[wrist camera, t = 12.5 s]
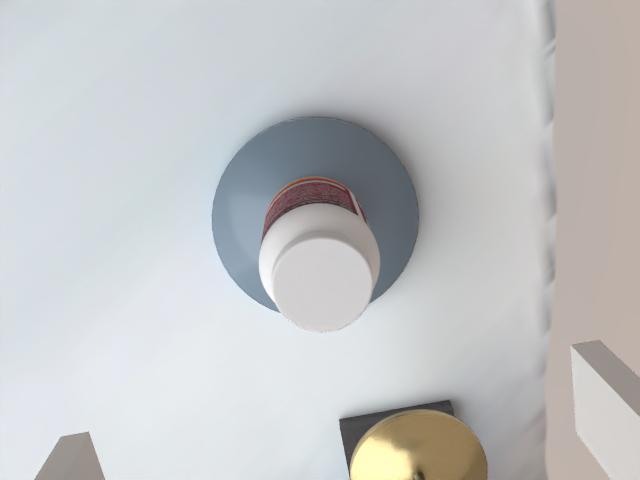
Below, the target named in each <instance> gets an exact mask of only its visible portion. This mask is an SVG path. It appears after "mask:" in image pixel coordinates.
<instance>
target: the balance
mask: <svg viewBox="0 0 640 480" xmlns="http://www.w3.org/2000/svg"><path fill="white" fill-rule="evenodd" d="M339 422H340V430H341V435H342V441H343V446H344V451H345V456H346V461H347V466H348V471H349V476H350V480H487V473H488V469H487V460H486V456H485V453H484V450H483V448H482V446H481V444H480V442H479V440H478V438H477V437H476V435H475V434H474V432H473V431H472V430H471V429H470V428H469V427H468V426H467V425H466V424H465V423H463V422H462V421H461V420H459V419H457V418H456V417H454V413H453V408H452V406H451V404H450V401H449V400H447V401H441V402H435V403H430V404H424V405H418V406H413V407H407V408H402V409H396V410H390V411H385V412H379V413H374V414H368V415H362V416H357V417H351V418H345V419H340V420H339Z"/></svg>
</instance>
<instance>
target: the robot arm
mask: <svg viewBox="0 0 640 480" xmlns="http://www.w3.org/2000/svg"><path fill="white" fill-rule="evenodd" d="M571 360H572V376H573V392H574V407H575V424H576V433H577V434H578V436H579V437H580V438H581V440H582V441H583V443H584V444H585V445H586V447H587V448H588V449H589V451H590V452H591V453H592V455H593V456H594V457H595V459H596V460H597V461H598V462H599V464H600V465H601V467H602V468H603V469H604V471H605V472H606V473H607V475H608V476H609V477H610V479H611V480H640V377H638V376H637V375H636V374H635V373H634V372H633V371H632V370H631V369H630V368H629V367H628V366H627V365H626V364H624V363H623V362H622V361H621V360H620V359H619V358H618V357H617V356H616V355H615V354H614V353H613V352H612V351H610V350H609V349H608V348H607V347H606V346H605V345H604V344H603V343H602V342H601V341H600V340H595V341H590V342H584V343H579V344H573V345H571ZM34 480H105V478H104V475H103V472H102V469H101V466H100V463H99V460H98V458H97V455H96V452H95V449H94V446H93V443H92V440H91V437H90V434H89V432H85V433H79V434H74V435H68V436H63V437H61V438H60V439H59V441H58V442H57V444H56V446H55V447H54V449H53V450H52V452H51V454H50V455H49V457H48V458H47V460H46V462H45V463H44V465H43V467H42V468H41V470H40V471H39V473H38V475H37V476H36V478H35V479H34Z"/></svg>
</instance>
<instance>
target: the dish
mask: <svg viewBox="0 0 640 480" xmlns="http://www.w3.org/2000/svg"><path fill="white" fill-rule="evenodd" d="M311 176H318V177H325V178H329V179H332V180H334V181H337V182H339V183H341V184H343V185H344V186H345V187H347V188H348V189H349V190H350V191H351V192H352V193H353V195H354V196H355V197H356V198H357V200H358V201H359V203H360V205H361V207H362V210H363V212H364V214H365V216H366V219H367V221H368V223H369V226H370V228H371V230H372V232H373V234H374V236H375V239H376V242H377V245H378V248H379V253H380V271H379V276H378V279H377V282H376V285H375V287H374V289H373V292H372V296H371V299H370V301H369V303H371V302H372V301H374V300H375V299H377V298H378V297H380V296H381V295H382V294H383V293H384V292H385V291H386V290H387V289H389V288H390V287H391V285H392V284H393V283H394V282H395V281H396V280H397V279H398V277H399V276H400V274H401V273H402V271H403V270H404V268H405V267H406V265H407V263H408V261H409V259H410V257H411V254H412V251H413V248H414V245H415V242H416V237H417V232H418V219H419V216H418V204H417V199H416V194H415V190H414V187H413V185H412V182H411V179H410V177H409V175H408V173H407V171H406V169H405V167H404V166H403V165H402V163H401V162H400V160H399V159H398V158H397V156H396V155H395V154H394V153H393V152H392V151H391V150H390V149H389V148H388V147H387V146H386V145H385V144H384V143H383V142H382V141H381V140H379V139H378V138H377V137H376V136H374V135H373V134H371V133H370V132H368V131H366V130H365V129H363V128H361V127H359V126H356V125H354V124H352V123H349V122H346V121H342V120H339V119H333V118H327V117H305V118H296V119H293V120H289V121H285V122H282V123H279V124H277V125H274V126H272V127H270V128H268V129H266V130H264V131H263V132H261V133H259V134H258V135H256V136H255V137H254V138H252V139H251V140H250V141H248V142H247V143H246V144H245V145H244V146H243V147H242V148H241V149H240V150H239V151H238V153H237V154H236V155H235V157H234V158H233V159H232V161H231V162H230V163H229V165H228V166H227V168H226V170H225V172H224V173H223V175H222V177H221V179H220V182H219V185H218V187H217V190H216V194H215V198H214V202H213V210H212V230H213V236H214V242H215V245H216V248H217V251H218V255H219V257H220V259H221V261H222V263H223V265H224V267H225V269H226V270H227V272H228V273H229V275H230V276H231V278H232V279H233V280H234V281H235V283H236V284H237V285H238V286H239V287H240V288H241V289H242V290H243V291H244V292H245V293H246V294H247V295H249V296H250V297H251V298H253V299H254V300H256V301H257V302H258V303H260V304H262V305H264V306H266V307H267V308H269V309H271V310H274V311H277V312H279V313H281V312H280V311H279V309H278V307H277V306H276V304H275V302H274V301H273V300H272V299H271V298H270V296H269V295H268V294H267V292H266V290H265V288H264V286H263V284H262V281H261V277H260V273H259V253H260V247H261V241H262V235H263V229H264V224H265V218H266V213H267V210H268V208H269V205H270V203H271V201H272V200H273V198H274V197H275V195H276V194H277V193H278V192H279V191H280V190H281V189H282V188H283V187H285V186H286V185H287V184H289V183H291V182H293V181H295V180H297V179H301V178H304V177H311Z"/></svg>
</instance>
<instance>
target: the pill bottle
mask: <svg viewBox="0 0 640 480" xmlns="http://www.w3.org/2000/svg"><path fill="white" fill-rule="evenodd" d="M379 271H380V253H379V248H378V245H377V242H376V239H375V236H374V234H373V232H372V230H371V228H370V226H369V223H368V221H367V219H366V216H365V214H364V212H363V210H362V207H361V205H360V203H359V201H358V200H357V198H356V197H355V196H354V195H353V193H352V192H351V191H350V190H349V189H348V188H347V187H345V186H344V185H343V184H341V183H339V182H337V181H334V180H332V179H329V178H325V177H318V176H311V177H304V178H301V179H297V180H295V181H293V182H291V183H289V184H287V185H286V186H285V187H283V188H282V189H281V190H280V191H279V192H278V193H277V194H276V195H275V197H274V198H273V200H272V201H271V203H270V205H269V208H268V210H267V213H266V218H265V224H264V229H263V235H262V241H261V247H260V253H259V273H260V277H261V281H262V284H263V286H264V288H265V290H266V292H267V294H268V295H269V296H270V298H271V299H272V300H273V301H274V302H275V304H276V306H277V307H278V309H279V311H280V312H281V313H282V315H283V316H284V317H285V318H286V319H287V320H288V321H290V322H291V323H292V324H294V325H296V326H297V327H299V328H302V329H305V330H308V331H312V332H331V331H335V330H339V329H341V328H344V327H346V326H348V325H349V324H351V323H353V322H354V321H355V320H356V319H358V318H359V317H360V316H361V314H362V313H363V312H364V311H365V309H366V307H367V306H368V304H369V301H370V299H371V296H372V292H373V289H374V287H375V285H376V282H377V279H378V276H379Z"/></svg>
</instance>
